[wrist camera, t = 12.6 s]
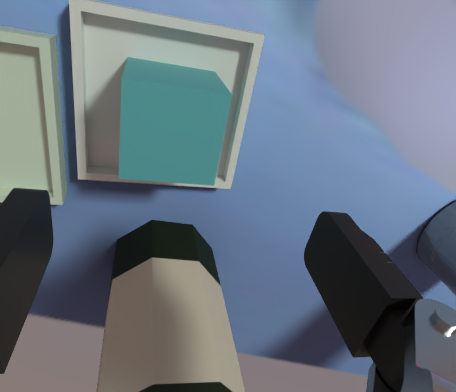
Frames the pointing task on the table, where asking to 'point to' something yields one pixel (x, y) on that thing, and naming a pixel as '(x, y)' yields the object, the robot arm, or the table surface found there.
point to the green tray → (30, 115)
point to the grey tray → (159, 52)
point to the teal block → (171, 122)
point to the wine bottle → (167, 316)
